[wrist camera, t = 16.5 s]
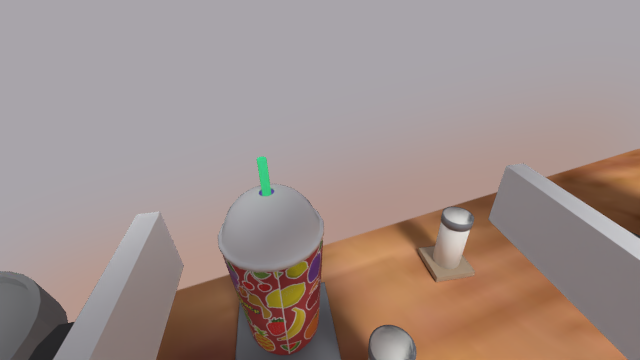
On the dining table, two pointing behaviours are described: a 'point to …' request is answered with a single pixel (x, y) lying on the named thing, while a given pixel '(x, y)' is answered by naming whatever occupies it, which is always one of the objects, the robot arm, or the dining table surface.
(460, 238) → the post far
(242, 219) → the smoothie
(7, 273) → the reusable coffee cup
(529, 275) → the dining table surface
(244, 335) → the mat
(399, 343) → the post near
